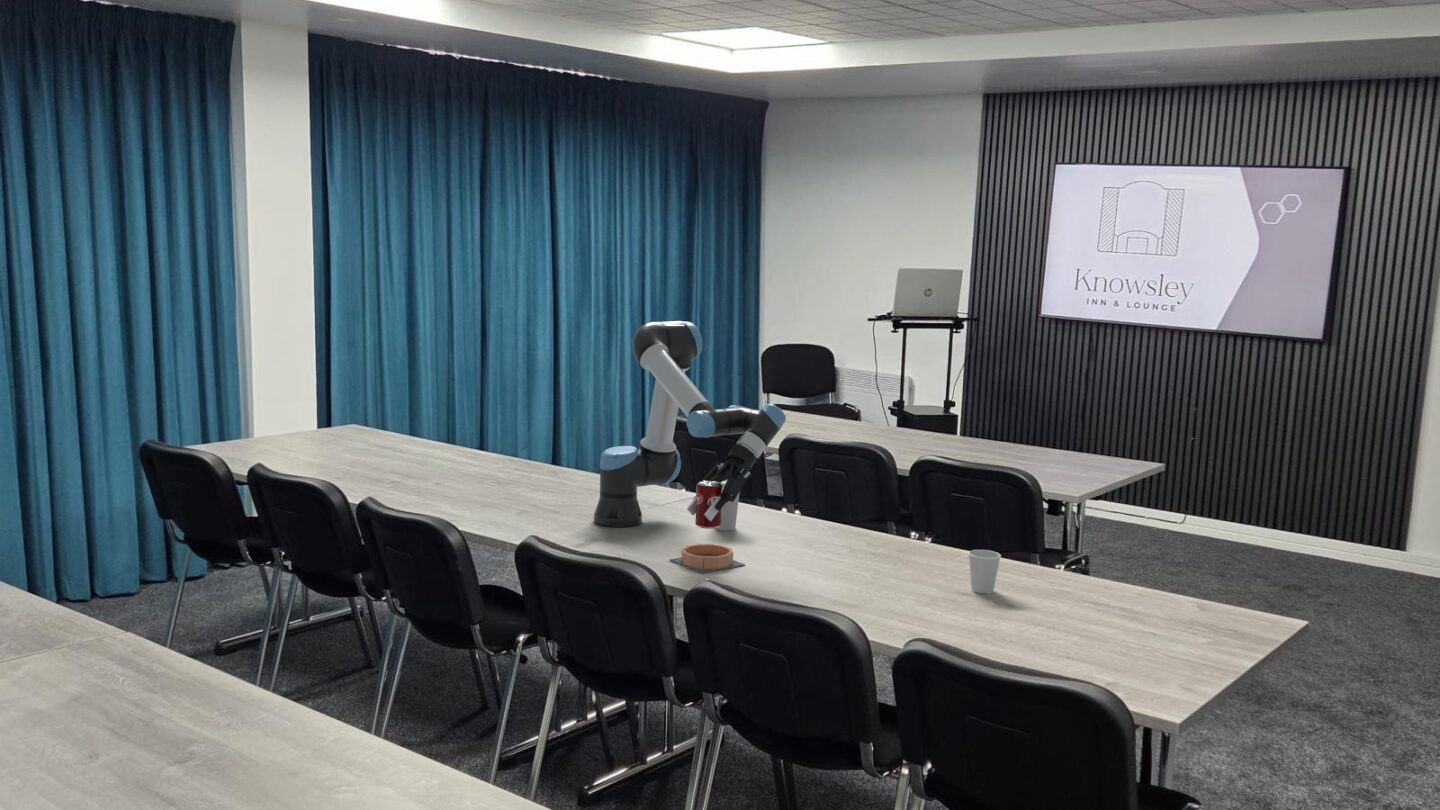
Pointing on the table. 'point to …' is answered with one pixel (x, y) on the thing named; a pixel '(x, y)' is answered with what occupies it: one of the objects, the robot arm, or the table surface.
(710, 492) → the soda can
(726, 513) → the coffee cup
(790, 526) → the table surface
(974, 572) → the dixie cup
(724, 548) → the bowl
